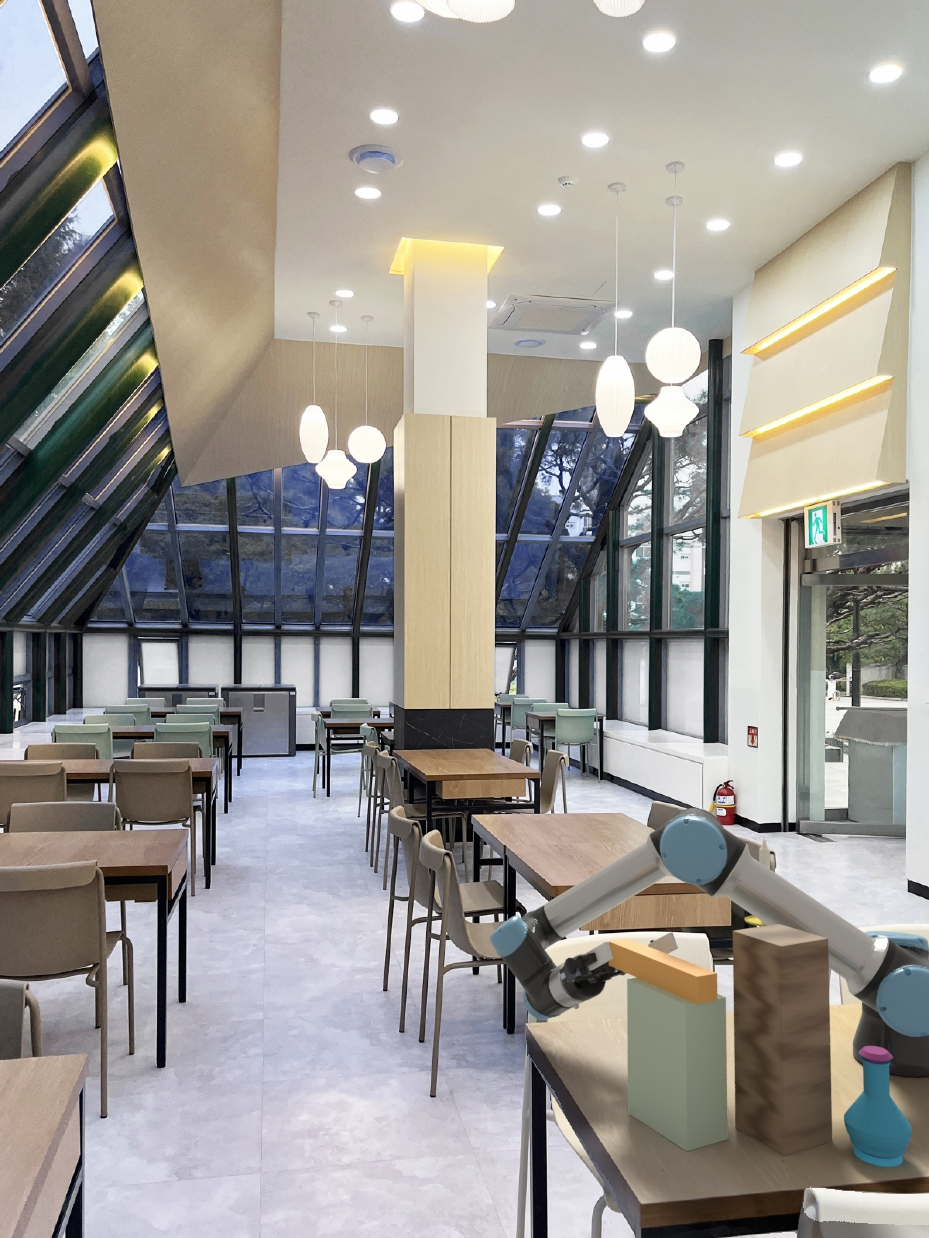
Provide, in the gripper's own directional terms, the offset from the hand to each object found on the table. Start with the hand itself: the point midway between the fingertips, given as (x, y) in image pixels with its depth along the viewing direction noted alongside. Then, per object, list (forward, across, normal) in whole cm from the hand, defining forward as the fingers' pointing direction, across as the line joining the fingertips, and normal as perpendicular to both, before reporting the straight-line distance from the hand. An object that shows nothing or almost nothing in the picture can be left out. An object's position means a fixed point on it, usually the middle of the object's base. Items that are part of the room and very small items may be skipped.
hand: (642, 945), depth 155 cm
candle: (-30, -48, -13) cm, 58 cm away
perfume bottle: (+12, -20, -37) cm, 44 cm away
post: (+2, -13, -31) cm, 34 cm away
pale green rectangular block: (-6, 0, -26) cm, 27 cm away
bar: (+2, 0, -6) cm, 6 cm away
